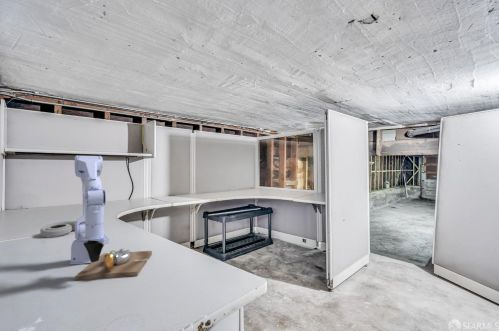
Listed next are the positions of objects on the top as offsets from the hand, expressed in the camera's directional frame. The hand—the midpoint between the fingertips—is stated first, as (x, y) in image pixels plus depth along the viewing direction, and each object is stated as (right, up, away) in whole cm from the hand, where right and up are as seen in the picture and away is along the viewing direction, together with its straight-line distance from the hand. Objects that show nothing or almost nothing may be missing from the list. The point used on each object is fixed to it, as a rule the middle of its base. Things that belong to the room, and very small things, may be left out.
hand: (94, 261), depth 87 cm
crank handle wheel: (+5, -3, +5) cm, 7 cm away
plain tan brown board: (+4, -5, +8) cm, 10 cm away
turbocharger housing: (-57, -6, +55) cm, 79 cm away
